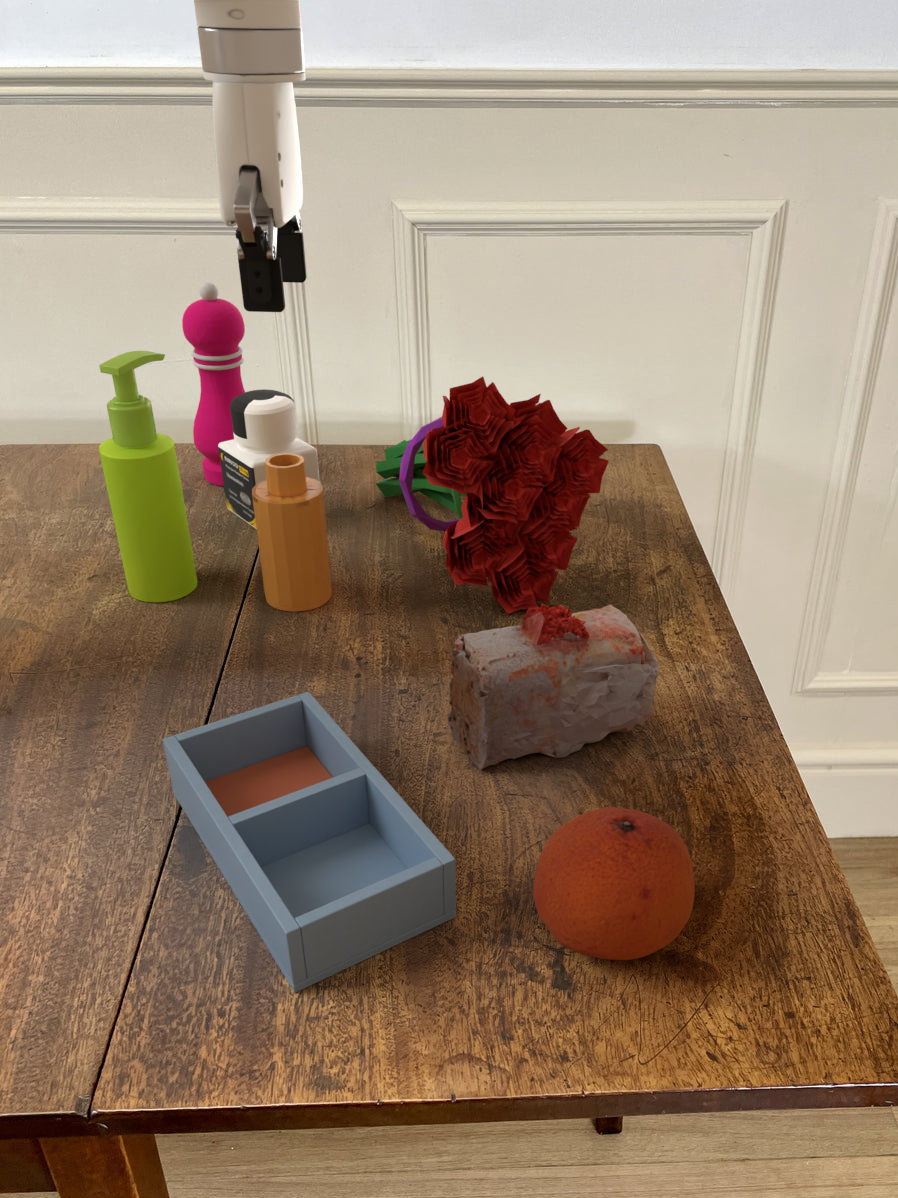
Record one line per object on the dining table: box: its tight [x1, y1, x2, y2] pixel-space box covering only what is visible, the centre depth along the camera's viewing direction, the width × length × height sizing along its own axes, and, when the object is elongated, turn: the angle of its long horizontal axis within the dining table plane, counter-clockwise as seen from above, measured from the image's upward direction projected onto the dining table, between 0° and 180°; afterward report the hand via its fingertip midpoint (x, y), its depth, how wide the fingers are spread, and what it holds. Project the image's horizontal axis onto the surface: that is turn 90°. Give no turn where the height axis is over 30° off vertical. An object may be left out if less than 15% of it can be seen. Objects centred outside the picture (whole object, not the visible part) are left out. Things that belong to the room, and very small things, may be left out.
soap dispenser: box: [98, 350, 199, 603], centre depth 87 cm, size 6×7×20 cm
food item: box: [447, 603, 660, 770], centre depth 72 cm, size 14×8×10 cm, turn 115°
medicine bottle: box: [218, 389, 321, 530], centre depth 101 cm, size 7×7×12 cm
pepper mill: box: [181, 281, 246, 487], centre depth 107 cm, size 7×7×20 cm
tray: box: [161, 691, 457, 993], centre depth 63 cm, size 10×19×5 cm, turn 34°
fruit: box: [532, 806, 696, 961], centre depth 58 cm, size 9×9×8 cm
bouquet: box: [375, 376, 609, 615], centre depth 97 cm, size 20×16×30 cm
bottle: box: [252, 453, 333, 613], centre depth 87 cm, size 6×6×12 cm
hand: (277, 295), depth 87 cm, fingers open, 9 cm apart
